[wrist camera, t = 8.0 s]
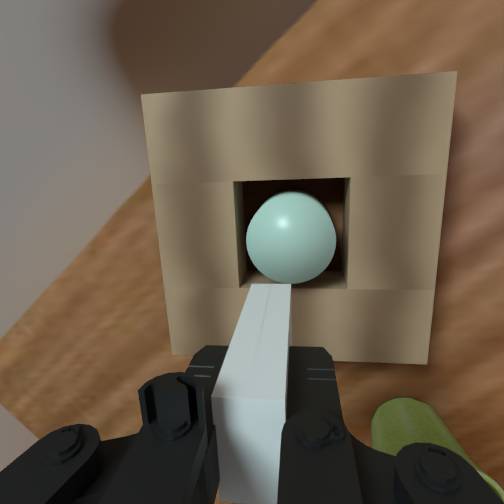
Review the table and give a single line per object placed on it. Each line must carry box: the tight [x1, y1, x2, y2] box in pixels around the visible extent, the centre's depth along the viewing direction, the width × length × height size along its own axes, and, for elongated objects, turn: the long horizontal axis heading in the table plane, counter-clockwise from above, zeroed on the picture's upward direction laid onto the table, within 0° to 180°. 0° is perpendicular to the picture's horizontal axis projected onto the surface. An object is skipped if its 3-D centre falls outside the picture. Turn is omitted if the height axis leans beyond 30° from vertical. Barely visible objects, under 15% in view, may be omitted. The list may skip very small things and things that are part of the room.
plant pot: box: [371, 398, 504, 502], centre depth 28 cm, size 9×9×9 cm
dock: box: [141, 71, 457, 365], centre depth 27 cm, size 20×20×4 cm
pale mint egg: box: [246, 189, 336, 284], centre depth 26 cm, size 6×6×5 cm
